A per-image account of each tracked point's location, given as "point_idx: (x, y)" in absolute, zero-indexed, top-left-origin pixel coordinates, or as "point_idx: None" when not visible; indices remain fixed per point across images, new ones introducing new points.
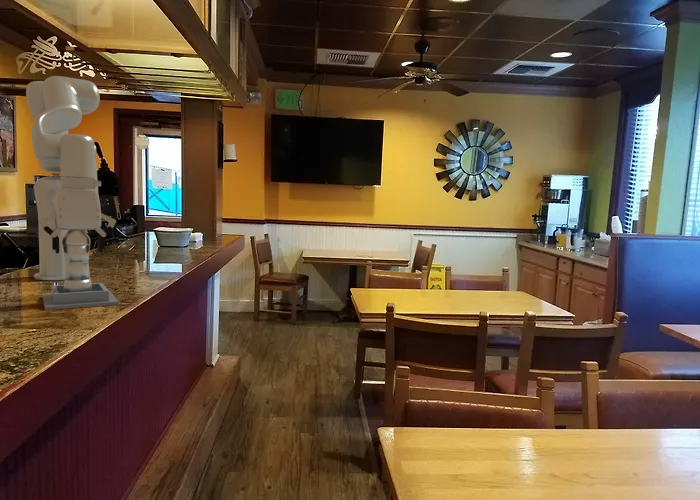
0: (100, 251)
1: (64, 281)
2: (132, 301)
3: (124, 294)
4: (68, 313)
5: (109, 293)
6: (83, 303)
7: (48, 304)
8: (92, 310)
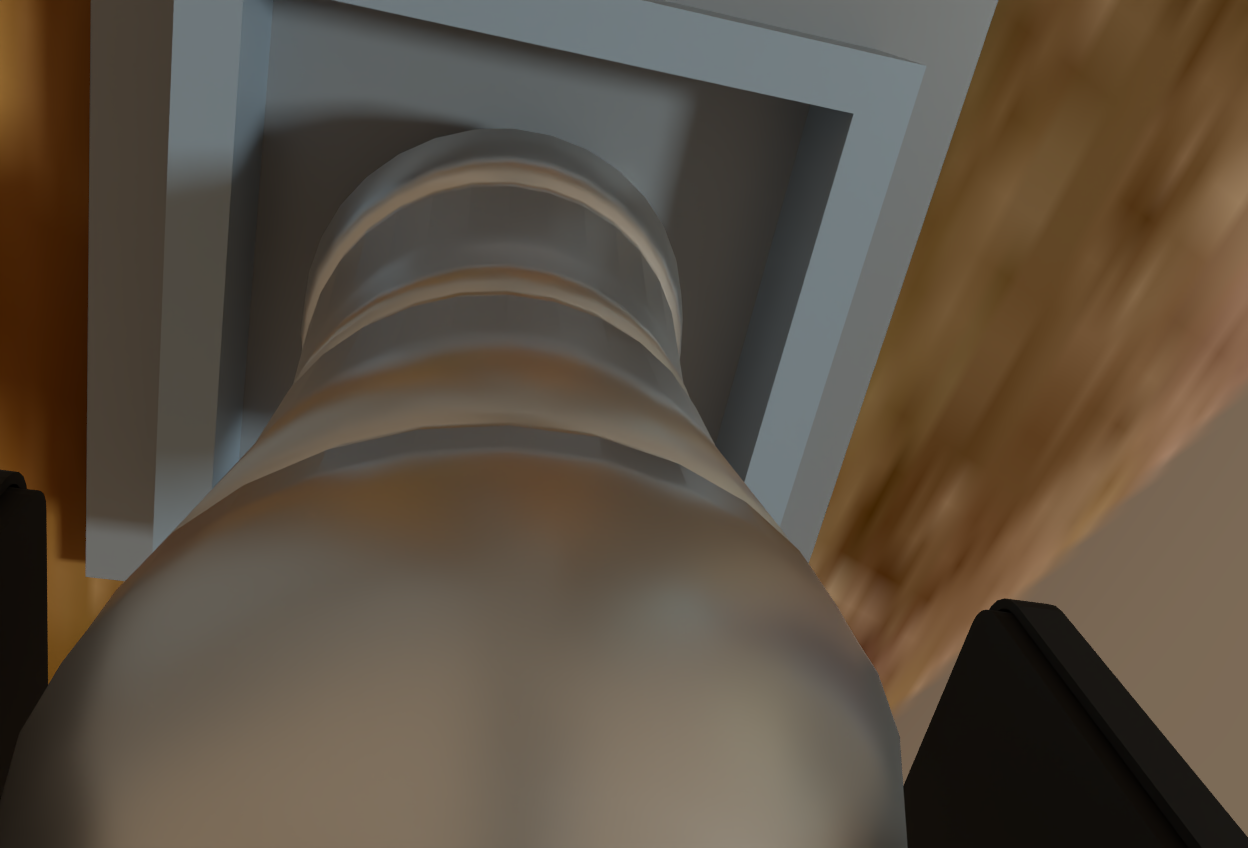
0: (917, 830)
1: (302, 337)
2: (939, 559)
3: (1075, 171)
4: None
5: (895, 212)
6: None
7: (128, 478)
8: None
